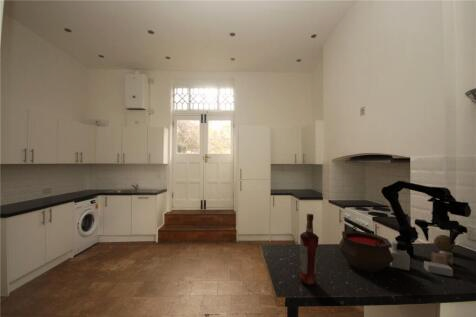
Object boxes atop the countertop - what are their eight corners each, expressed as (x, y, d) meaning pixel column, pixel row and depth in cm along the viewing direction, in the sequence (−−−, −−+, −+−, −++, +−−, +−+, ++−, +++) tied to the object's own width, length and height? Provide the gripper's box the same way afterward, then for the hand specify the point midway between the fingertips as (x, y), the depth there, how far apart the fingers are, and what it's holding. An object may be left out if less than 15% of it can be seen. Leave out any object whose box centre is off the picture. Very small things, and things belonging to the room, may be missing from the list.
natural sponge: (436, 252, 122) (437, 235, 123) (430, 247, 130) (431, 231, 131) (457, 256, 118) (458, 239, 119) (450, 250, 126) (450, 234, 127)
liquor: (296, 276, 90) (298, 211, 91) (312, 276, 90) (315, 212, 91) (302, 286, 83) (304, 216, 83) (320, 287, 83) (322, 217, 84)
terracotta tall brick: (434, 267, 104) (434, 255, 105) (430, 263, 109) (431, 251, 109) (446, 269, 103) (446, 257, 103) (441, 265, 107) (442, 253, 107)
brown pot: (407, 280, 91) (408, 243, 91) (350, 276, 92) (352, 239, 92) (374, 255, 115) (375, 226, 115) (329, 252, 116) (330, 223, 116)
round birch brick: (442, 263, 109) (442, 253, 109) (437, 259, 114) (437, 250, 114) (454, 265, 107) (455, 255, 107) (449, 261, 112) (449, 252, 112)
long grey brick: (428, 272, 99) (428, 265, 99) (423, 268, 103) (424, 261, 103) (452, 277, 96) (453, 269, 96) (447, 272, 100) (447, 265, 100)
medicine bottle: (405, 264, 106) (405, 240, 106) (409, 270, 99) (410, 245, 100) (388, 261, 109) (388, 238, 109) (391, 267, 102) (392, 242, 103)
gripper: (423, 212, 102) (422, 244, 102) (475, 218, 95) (474, 252, 95) (414, 208, 113) (413, 237, 112) (461, 213, 105) (460, 244, 105)
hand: (438, 242), depth 106 cm, fingers open, 9 cm apart
